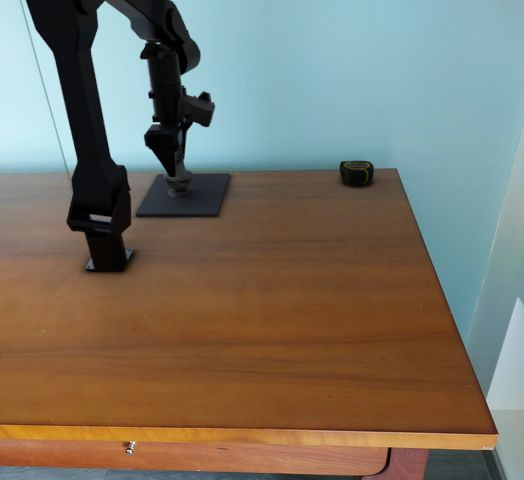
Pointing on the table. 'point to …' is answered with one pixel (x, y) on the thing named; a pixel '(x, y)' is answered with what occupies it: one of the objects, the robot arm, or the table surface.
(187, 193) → the salt shaker
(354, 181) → the tape measure
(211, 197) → the mat
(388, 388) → the table surface
